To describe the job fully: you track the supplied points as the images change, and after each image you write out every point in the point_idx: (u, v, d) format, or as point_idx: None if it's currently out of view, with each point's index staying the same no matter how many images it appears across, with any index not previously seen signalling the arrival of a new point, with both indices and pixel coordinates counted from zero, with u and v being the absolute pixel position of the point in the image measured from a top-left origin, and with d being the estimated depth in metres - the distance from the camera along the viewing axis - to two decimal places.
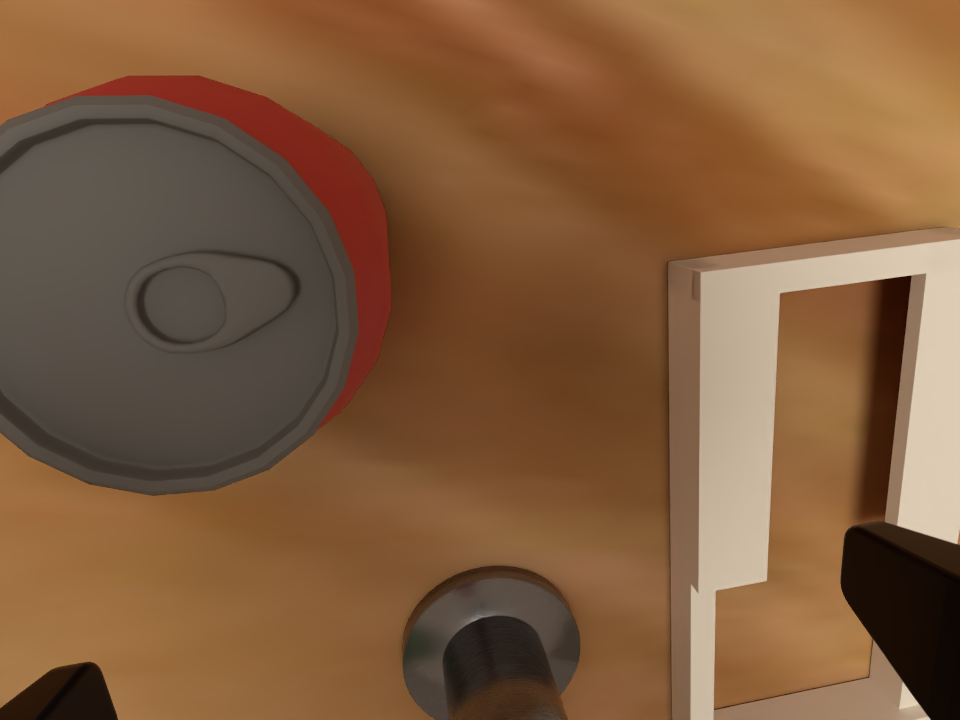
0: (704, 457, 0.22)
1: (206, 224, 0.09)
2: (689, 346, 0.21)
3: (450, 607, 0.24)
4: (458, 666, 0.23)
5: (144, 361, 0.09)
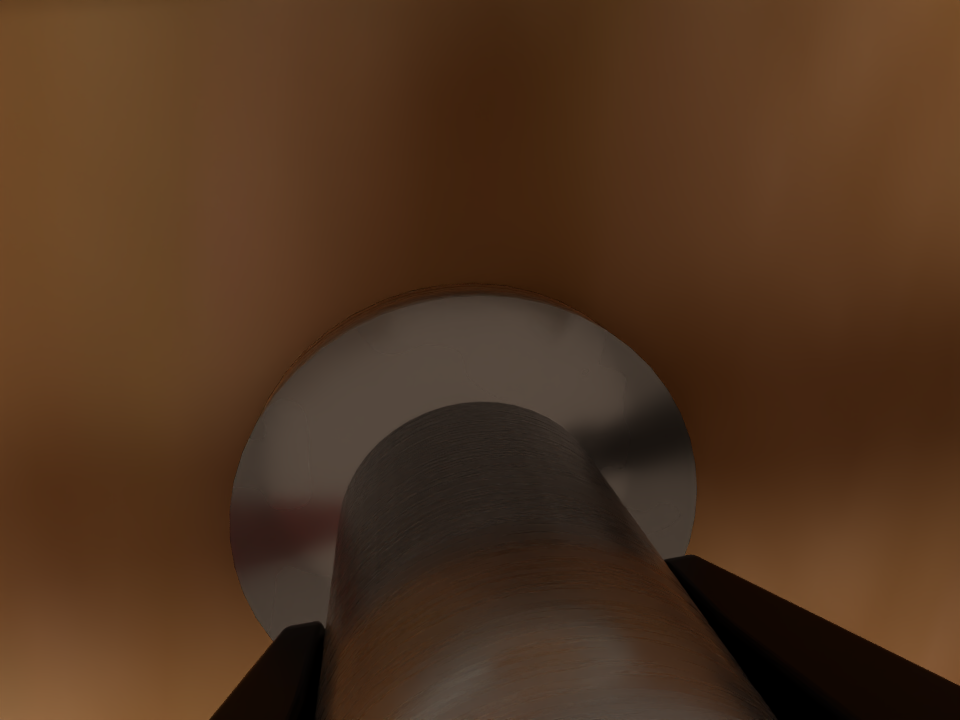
0: None
1: None
2: None
3: None
4: None
5: None
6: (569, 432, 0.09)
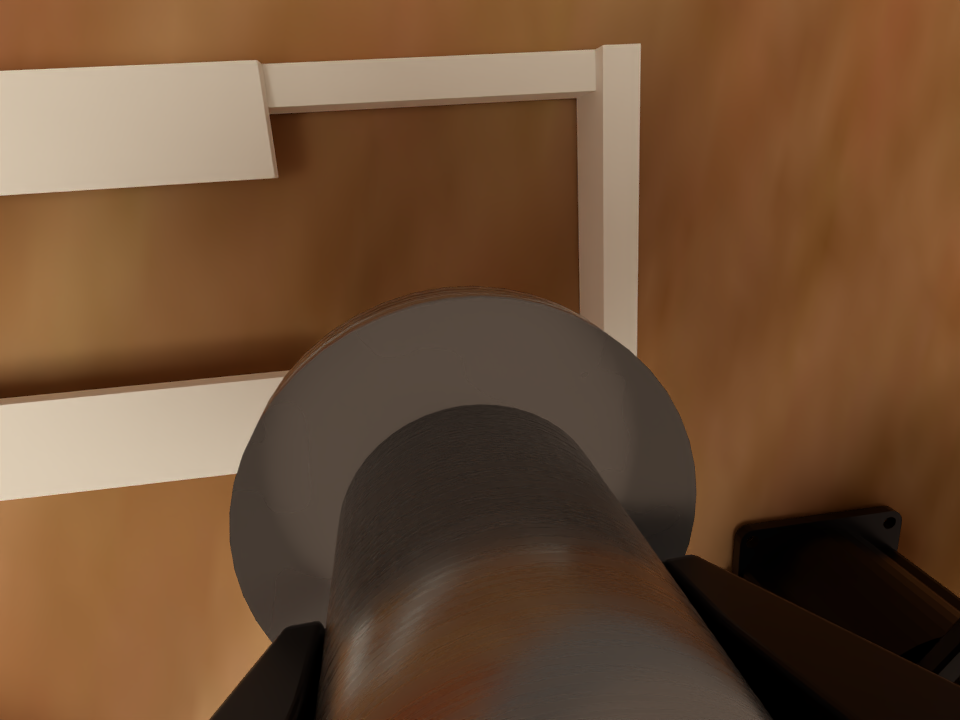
0: (111, 481, 0.17)
1: None
2: None
3: None
4: None
5: None
6: (568, 435, 0.09)
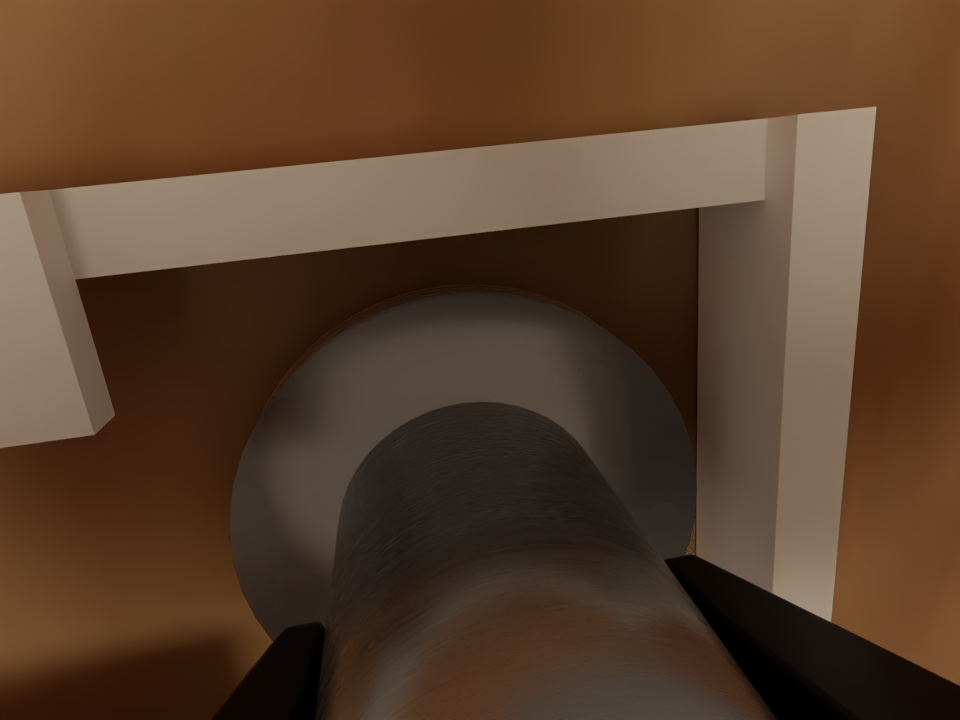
0: None
1: None
2: None
3: None
4: None
5: None
6: (569, 432, 0.09)
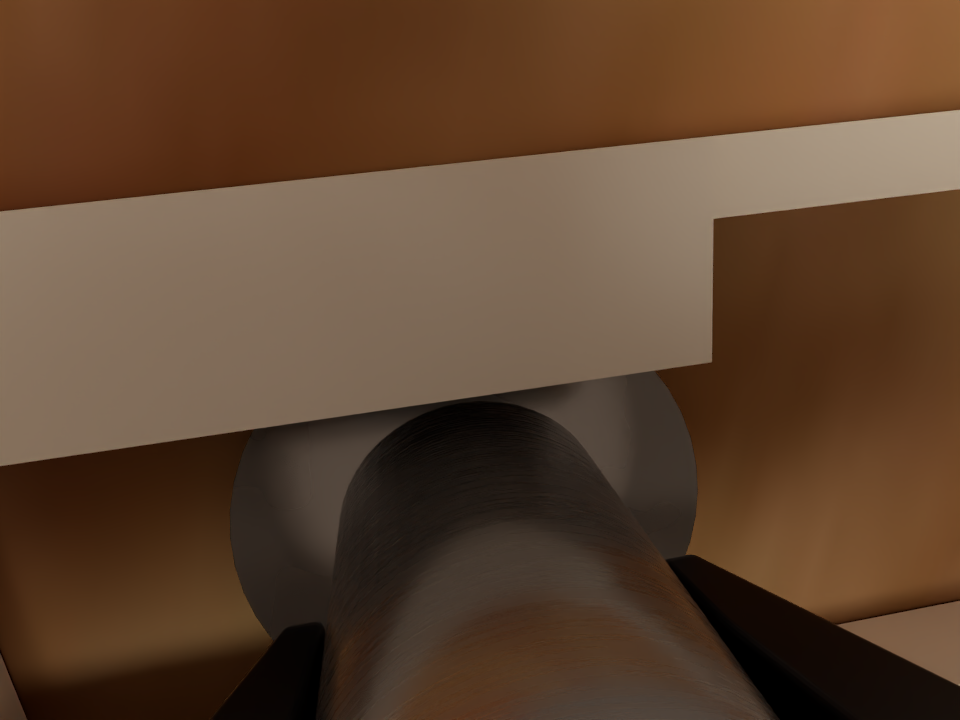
0: None
1: None
2: None
3: None
4: None
5: None
6: (570, 432, 0.09)
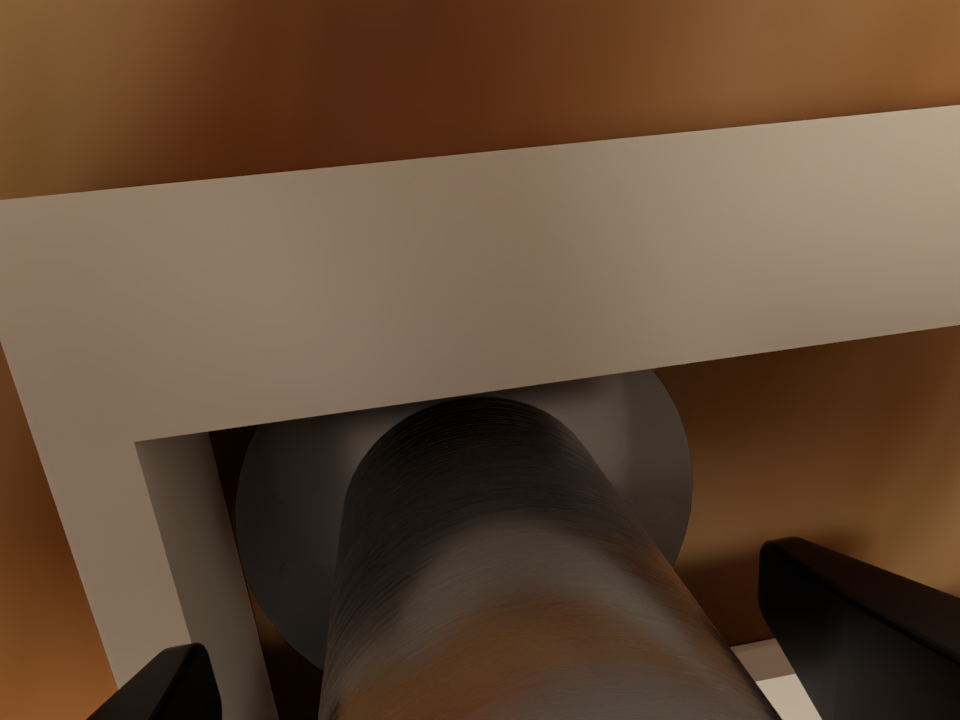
0: None
1: None
2: None
3: (311, 626, 0.10)
4: None
5: None
6: (567, 426, 0.09)
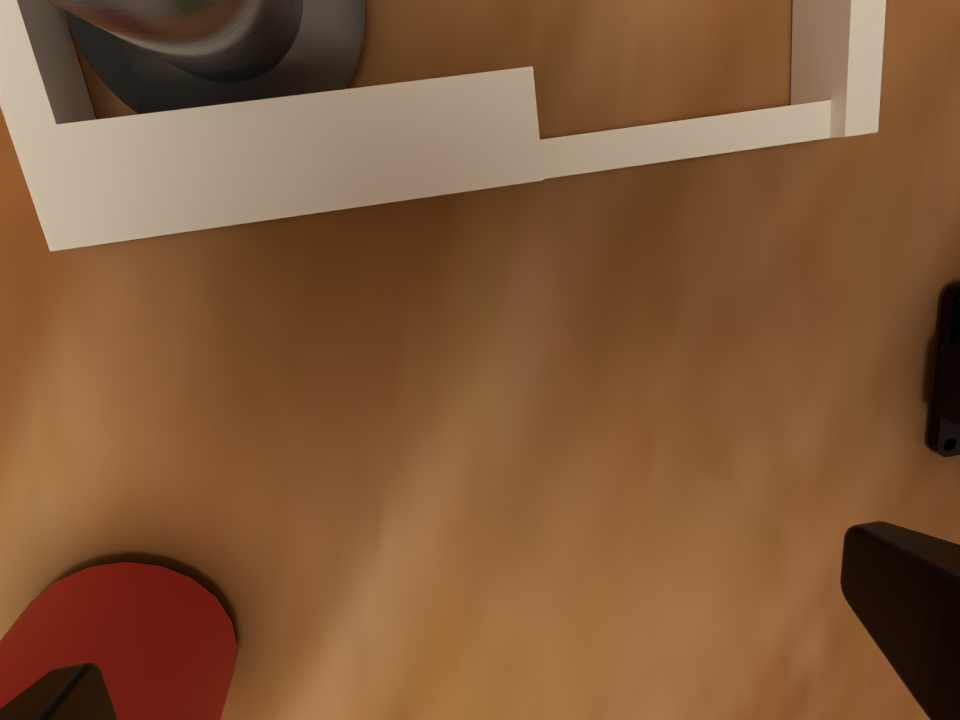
0: (324, 204, 0.16)
1: None
2: None
3: (116, 68, 0.15)
4: None
5: None
6: None
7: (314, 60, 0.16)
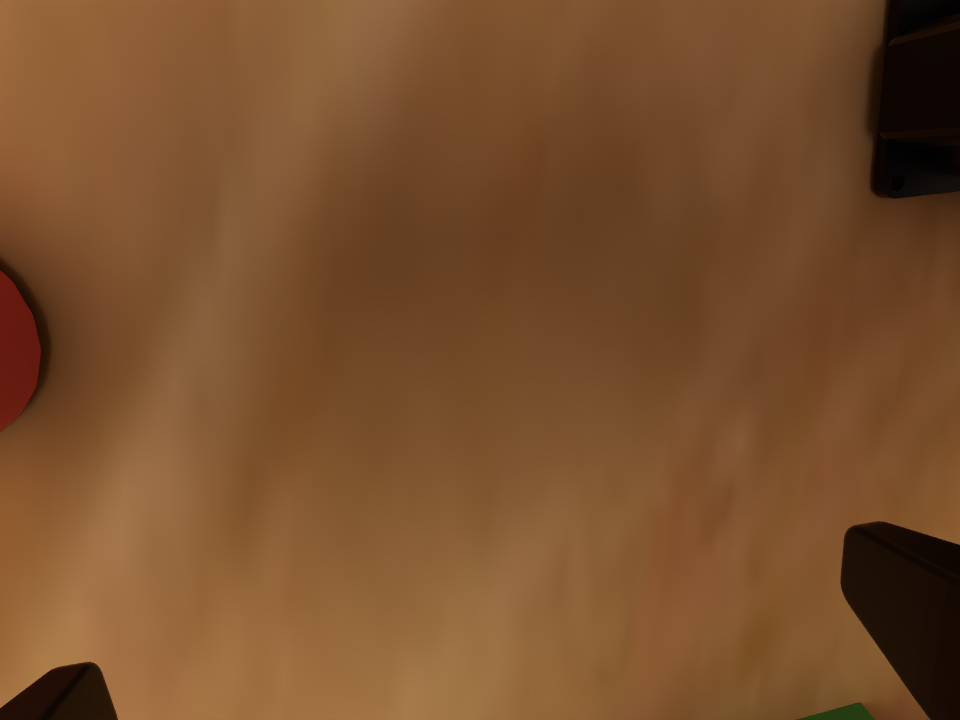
0: None
1: None
2: None
3: None
4: None
5: None
6: None
7: None
